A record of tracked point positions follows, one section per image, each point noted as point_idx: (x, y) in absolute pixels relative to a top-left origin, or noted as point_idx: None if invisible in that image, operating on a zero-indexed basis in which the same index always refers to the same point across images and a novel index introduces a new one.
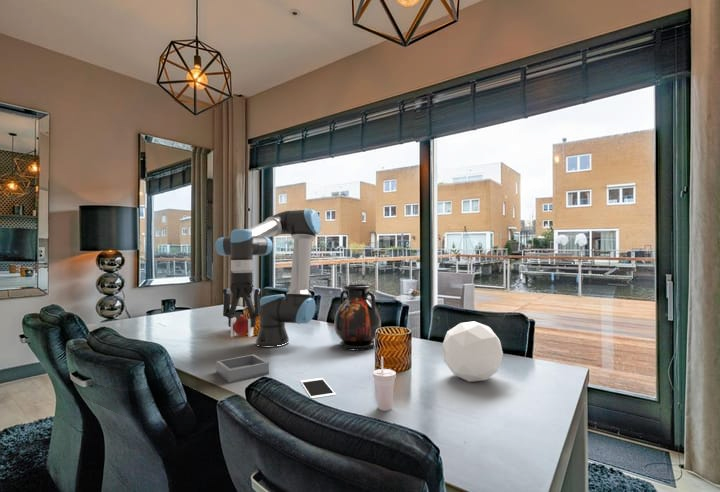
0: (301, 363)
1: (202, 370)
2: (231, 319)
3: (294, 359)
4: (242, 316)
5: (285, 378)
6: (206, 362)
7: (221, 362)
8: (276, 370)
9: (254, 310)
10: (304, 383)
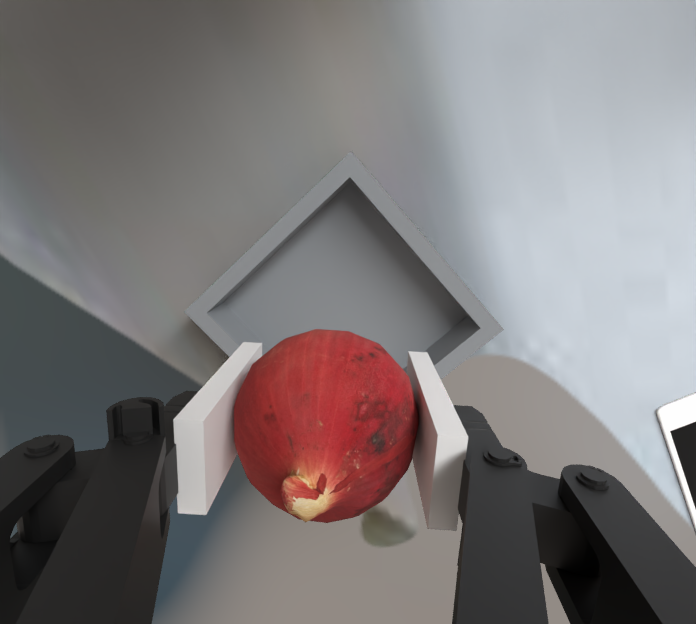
0: (640, 122)
1: (115, 269)
2: (193, 504)
3: (585, 29)
4: (329, 507)
5: (581, 374)
6: (45, 121)
7: (226, 334)
8: (512, 259)
9: (533, 524)
10: (680, 443)
